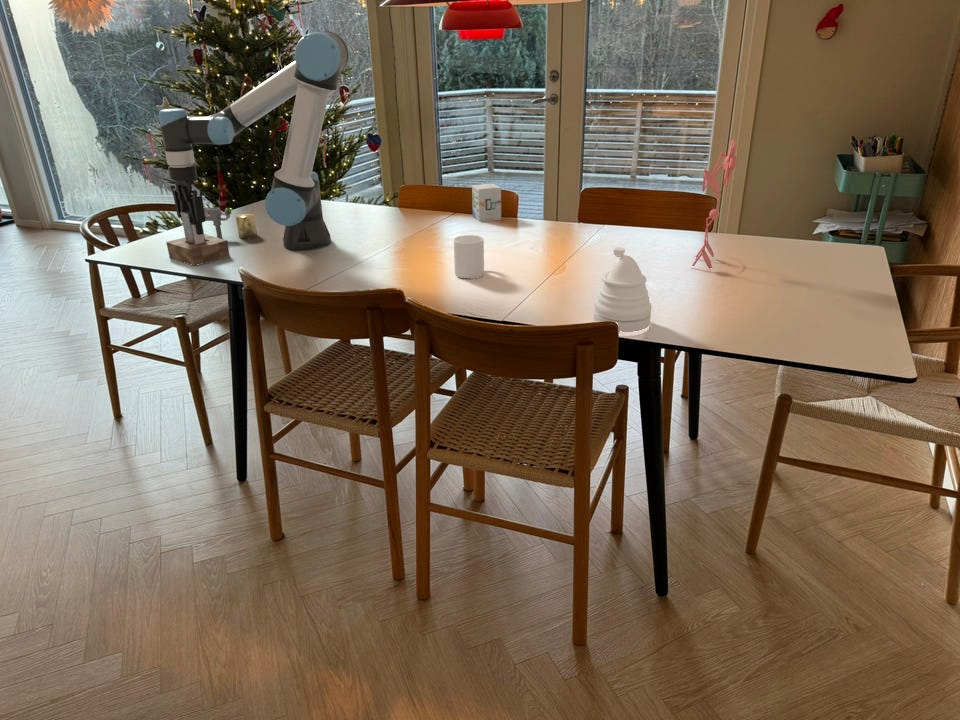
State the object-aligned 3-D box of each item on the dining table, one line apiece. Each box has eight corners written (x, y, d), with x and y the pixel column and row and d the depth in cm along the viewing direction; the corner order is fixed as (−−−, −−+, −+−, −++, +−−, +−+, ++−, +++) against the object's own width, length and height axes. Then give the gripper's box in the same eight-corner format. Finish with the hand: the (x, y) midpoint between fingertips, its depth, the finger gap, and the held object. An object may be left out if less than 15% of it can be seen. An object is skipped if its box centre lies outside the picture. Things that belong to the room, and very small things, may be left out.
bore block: (229, 256, 215) (226, 240, 213) (194, 266, 207) (191, 249, 205) (204, 248, 223) (201, 233, 221) (169, 257, 215) (166, 241, 213)
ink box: (472, 216, 256) (471, 184, 250) (494, 214, 258) (494, 182, 253) (479, 222, 248) (478, 189, 243) (501, 219, 250) (501, 187, 245)
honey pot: (583, 327, 161) (587, 252, 153) (609, 311, 170) (615, 239, 162) (633, 341, 153) (640, 262, 146) (659, 323, 163) (666, 248, 155)
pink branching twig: (683, 276, 191) (702, 145, 176) (694, 251, 213) (712, 131, 197) (742, 284, 186) (767, 149, 171) (747, 257, 208) (770, 135, 192)
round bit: (261, 235, 236) (257, 215, 233) (245, 239, 232) (242, 219, 229) (250, 233, 240) (247, 212, 237) (235, 236, 236) (231, 216, 232)
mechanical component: (233, 239, 233) (228, 209, 229) (203, 239, 233) (197, 209, 229) (236, 236, 236) (231, 207, 231) (206, 237, 236) (200, 207, 232)
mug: (470, 265, 204) (469, 230, 200) (495, 268, 200) (494, 233, 196) (449, 277, 194) (448, 241, 190) (475, 281, 191) (474, 244, 186)
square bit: (205, 243, 214) (200, 211, 209) (193, 246, 211) (187, 213, 206) (198, 241, 216) (192, 209, 211) (186, 244, 213) (180, 211, 209)
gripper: (209, 166, 201) (222, 245, 211) (177, 160, 210) (191, 235, 221) (185, 170, 196) (200, 251, 206) (154, 163, 205) (169, 241, 215)
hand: (195, 242), depth 213 cm, fingers closed on square bit, 4 cm apart
